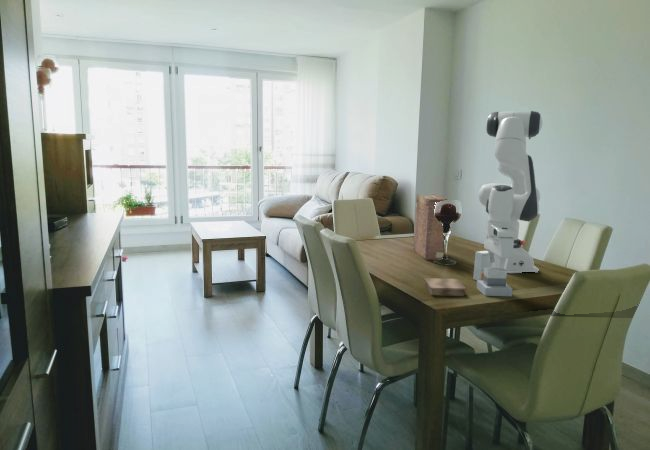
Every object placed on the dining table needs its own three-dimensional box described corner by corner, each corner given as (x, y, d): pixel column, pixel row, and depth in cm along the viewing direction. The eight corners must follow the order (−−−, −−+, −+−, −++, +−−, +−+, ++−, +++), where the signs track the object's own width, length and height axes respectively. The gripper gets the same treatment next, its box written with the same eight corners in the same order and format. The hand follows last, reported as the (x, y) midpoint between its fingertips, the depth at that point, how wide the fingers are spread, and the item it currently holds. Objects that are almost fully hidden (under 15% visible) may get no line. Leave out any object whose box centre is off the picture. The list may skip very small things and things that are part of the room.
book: (413, 249, 256) (416, 194, 251) (430, 249, 256) (433, 194, 251) (425, 260, 231) (428, 199, 226) (444, 260, 231) (447, 199, 226)
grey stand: (502, 288, 185) (502, 281, 185) (511, 296, 175) (512, 288, 175) (476, 287, 185) (477, 280, 185) (484, 295, 175) (485, 287, 175)
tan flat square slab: (456, 286, 187) (457, 278, 186) (465, 296, 174) (466, 288, 173) (423, 285, 187) (424, 278, 186) (430, 295, 174) (431, 287, 174)
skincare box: (480, 281, 194) (482, 253, 192) (472, 279, 198) (475, 251, 196) (491, 280, 196) (493, 252, 194) (484, 278, 200) (486, 250, 198)
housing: (501, 282, 182) (502, 267, 181) (505, 286, 177) (507, 270, 177) (483, 282, 182) (484, 267, 181) (487, 285, 178) (488, 270, 177)
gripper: (481, 225, 186) (478, 259, 188) (500, 233, 166) (496, 271, 168) (497, 225, 186) (494, 259, 188) (517, 233, 166) (514, 271, 168)
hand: (495, 265), depth 178 cm, fingers open, 8 cm apart
